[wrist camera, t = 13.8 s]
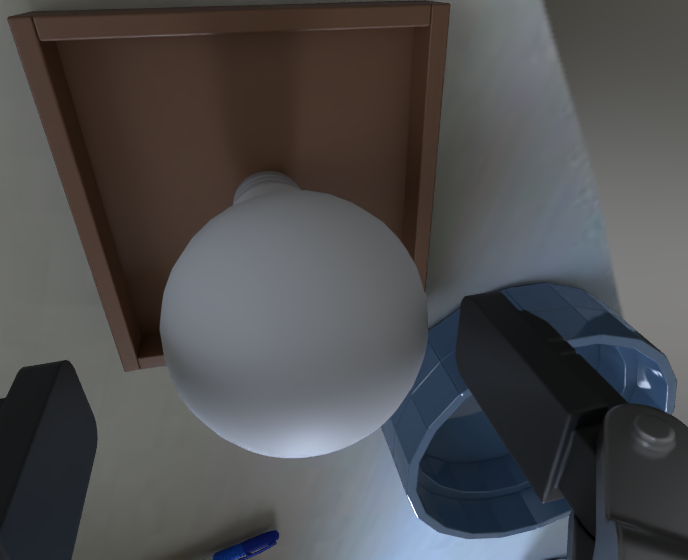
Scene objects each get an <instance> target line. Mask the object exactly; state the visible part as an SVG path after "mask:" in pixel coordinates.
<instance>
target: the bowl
mask: <svg viewBox="0 0 688 560" xmlns="http://www.w3.org/2000/svg"><path fill="white" fill-rule="evenodd" d="M499 292H501V293H502V294H504V295H505V296H506V298H507V299H508V300H509V301H510V302H511V303H512V304H513V305H514V306H515V307H516V308H517V309H518V310H527V311H529V312H531V313H532V314H534V315H536V316H538V317H540V318H542V319H543V320H545V321H547V322H548V323H549V324H550V325H551V326H552V327H553V328H554V329H555V330H556V331H557V332H558V333H559V334H560V335H561V336H562V337H563V340H564V341H567V342H568V343H569V344H570V345H571V346H572V347H573V348H574V349H575V350H576V353H577V354H580V355H581V356H582V357H583V358H584V359H585V360H586V361H587V362H588V363H589V364H590V365H591V366H592V367H593V368H594V369H595V370H596V371H597V372H598V373H599V374H600V375H601V376H602V377H603V378H604V379H605V380H606V381H607V382H608V383H609V384H610V385H611V386H612V387H613V388H614V389H615V390H616V391H617V392H618V393H619V394H620V395H621V396H622V397H623V398H624V399H625V400H626V401H627V402H628V403H629V404H630V403H634V404H642V405H648V406H651V407H654V408H657V409H660V410H662V411H664V412H666V413H668V414H670V415H672V413H673V411H674V407H675V396H676V387H677V379H676V377H675V375H674V373H673V371H672V368H671V366H670V364H669V361H668V359H667V357H666V356H665V354H663V353H662V352H661V351H660V350H659V349H657V348H656V347H655V346H654V345H653V344H651V343H650V342H649V341H648V340H647V339H646V338H644V337H643V336H642V335H641V334H640V333H638V332H637V331H636V330H635V329H634V328H632V327H631V326H630V325H629V324H628V323H627V322H625V321H624V320H623V319H622V318H621V317H619V316H618V315H617V314H616V313H615V312H613V311H612V310H611V309H610V308H609V307H608V306H606V305H605V304H604V303H602V302H601V301H599V300H598V299H596V298H595V297H593V296H592V295H590V294H589V293H587V292H586V291H584V290H583V289H578V288H572V287H567V286H561V285H555V284H549V283H541V284H534V285H527V286H520V287H513V288H506V289H505V290H501V291H499ZM459 316H460V308H459V309H458V310H457V311H455V312H454V313H452V314H451V315H450V316H448V317H447V318H446V319H444V320H443V321H441V322H440V323H439V324H437V325H436V326H435V327H433V328H432V329H430V330H429V331H428V341H427V346H426V351H425V356H424V359H423V362H422V365H421V368H420V370H419V373H418V375H417V377H416V380H415V382H414V385H413V387H412V388H411V390H410V391H409V393H408V394H407V396H406V397H405V399H404V400H403V402H402V403H401V404H400V406H399V407H398V409H397V410H396V411H395V413H394V414H393V415H392V416H391V417H390V418H389V419H388V420H387V421H386V422H385V423H384V424H383V425H382V430H383V433H384V436H385V438H386V441H387V444H388V446H389V449H390V452H391V454H392V457H393V460H394V462H395V465H396V468H397V470H398V473H399V476H400V479H401V481H402V484H403V487H404V489H405V492H406V495H407V497H408V499H409V501H410V503H411V505H412V507H413V510H414V512H415V514H416V516H417V517H418V518H419V519H420V520H422V521H423V522H424V523H426V524H427V525H429V526H430V527H432V528H433V529H434V530H436V531H437V532H439V533H443V534H447V535H452V536H456V537H461V538H465V539H481V538H501V537H506V536H510V535H514V534H518V533H522V532H526V531H531V530H535V529H538V528H540V527H543V526H545V525H548V524H550V523H552V522H555V521H557V520H559V519H562V518H564V517H566V516H569V515H570V513H571V510H572V508H571V507H570V506H569V504H568V503H567V501H566V500H565V498H562V499H559V500H555V501H551V502H547V503H542V502H541V500H540V499H539V497H538V496H537V494H536V493H535V491H534V489H533V488H532V486H531V485H530V483H529V482H528V480H527V479H526V477H525V475H524V474H523V472H522V471H521V469H520V468H519V466H518V465H517V463H516V462H515V460H514V458H513V457H512V455H511V454H510V452H509V451H508V449H507V448H506V446H505V445H504V443H503V441H502V440H501V438H500V437H499V435H498V434H497V432H496V431H495V429H494V427H493V426H492V424H491V423H490V421H489V420H488V418H487V417H486V415H485V414H484V412H483V410H482V409H481V407H480V406H479V404H478V403H477V401H476V400H475V398H474V396H473V395H472V393H471V392H470V390H469V389H468V387H467V386H466V384H465V383H464V381H463V379H462V378H461V376H460V374H459V371H458V368H457V364H456V357H455V349H456V341H457V332H458V324H459Z"/></svg>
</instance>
